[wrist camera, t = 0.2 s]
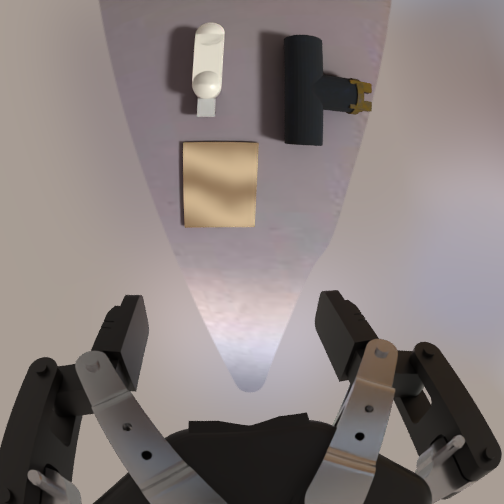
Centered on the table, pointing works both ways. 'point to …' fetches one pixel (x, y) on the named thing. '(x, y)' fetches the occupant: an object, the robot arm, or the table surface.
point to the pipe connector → (315, 91)
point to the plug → (208, 67)
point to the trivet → (220, 184)
